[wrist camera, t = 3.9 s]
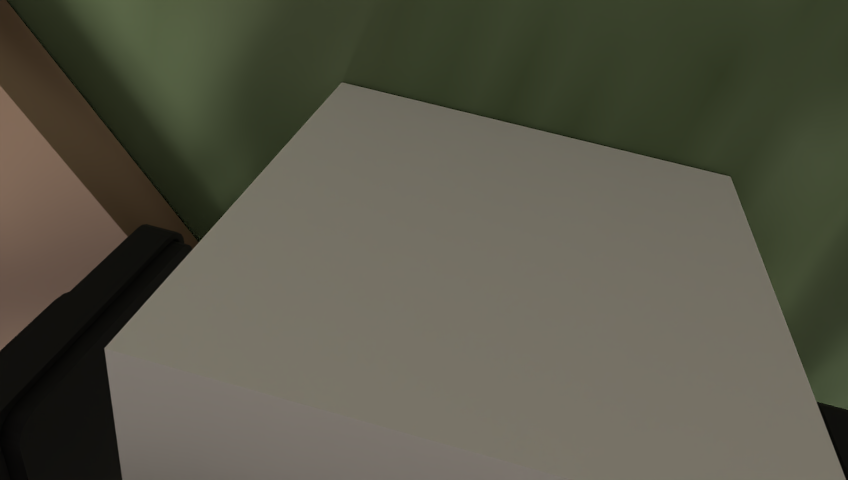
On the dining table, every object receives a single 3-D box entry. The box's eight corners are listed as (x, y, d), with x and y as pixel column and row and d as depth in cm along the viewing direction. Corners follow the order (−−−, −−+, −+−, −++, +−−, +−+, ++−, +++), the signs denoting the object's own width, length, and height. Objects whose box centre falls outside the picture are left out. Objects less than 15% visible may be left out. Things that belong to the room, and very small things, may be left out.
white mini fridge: (731, 176, 10) (907, 638, 4) (577, 489, 14) (570, 923, 8) (341, 82, 10) (62, 395, 5) (307, 412, 14) (137, 780, 9)
